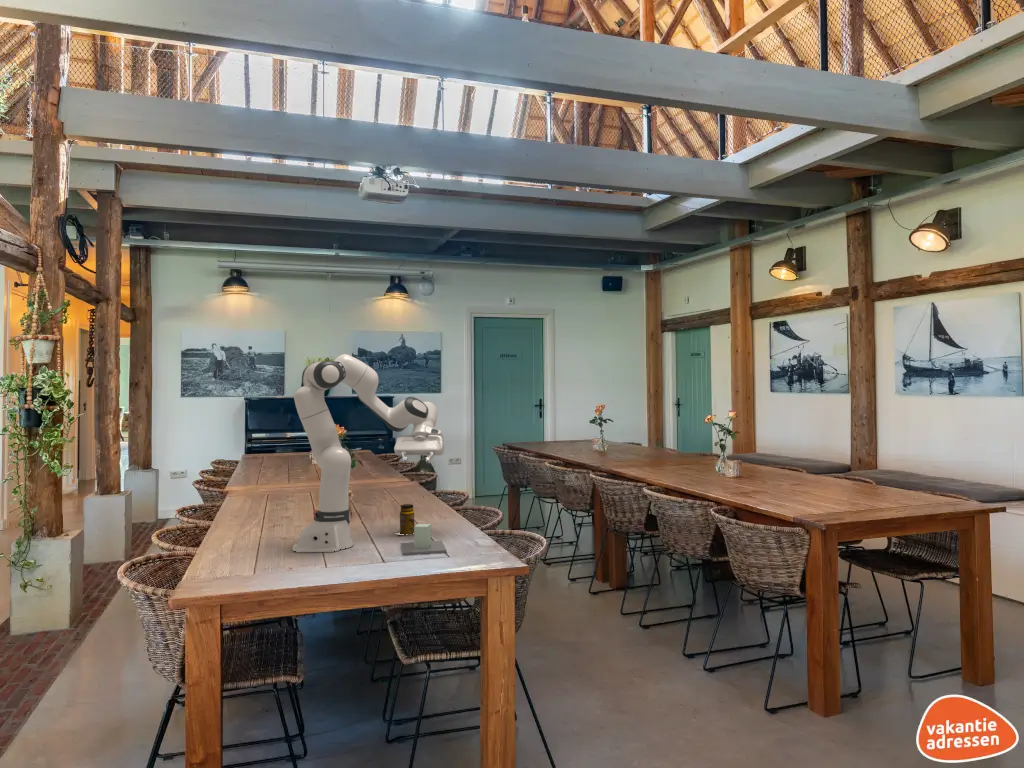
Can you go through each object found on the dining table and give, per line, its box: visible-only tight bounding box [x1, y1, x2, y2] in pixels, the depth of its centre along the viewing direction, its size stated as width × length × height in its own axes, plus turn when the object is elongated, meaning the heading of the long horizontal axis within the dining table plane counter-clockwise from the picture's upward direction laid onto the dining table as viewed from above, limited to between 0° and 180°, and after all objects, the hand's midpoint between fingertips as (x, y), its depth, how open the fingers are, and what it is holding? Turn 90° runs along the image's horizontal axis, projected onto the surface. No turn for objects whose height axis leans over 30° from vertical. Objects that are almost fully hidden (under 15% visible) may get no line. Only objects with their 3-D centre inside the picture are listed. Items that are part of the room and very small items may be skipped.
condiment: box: [393, 503, 416, 536], centre depth 288 cm, size 7×8×12 cm
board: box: [400, 540, 448, 556], centre depth 260 cm, size 16×16×1 cm
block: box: [413, 523, 432, 548], centre depth 260 cm, size 5×5×8 cm
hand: (416, 462), depth 274 cm, fingers open, 8 cm apart
